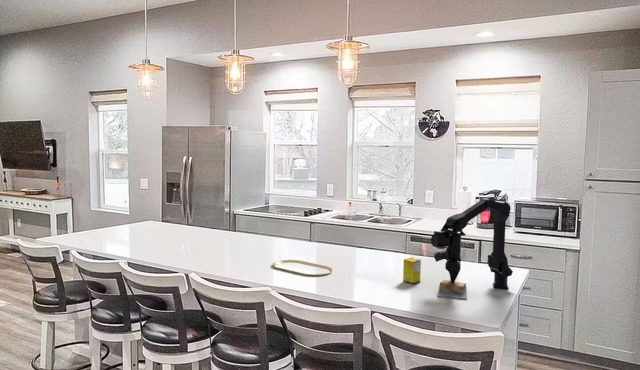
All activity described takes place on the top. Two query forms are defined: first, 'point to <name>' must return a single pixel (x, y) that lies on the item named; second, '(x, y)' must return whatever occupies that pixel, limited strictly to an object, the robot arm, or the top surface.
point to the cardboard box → (452, 287)
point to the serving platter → (304, 264)
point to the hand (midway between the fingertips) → (452, 280)
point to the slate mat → (452, 295)
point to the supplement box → (411, 270)
